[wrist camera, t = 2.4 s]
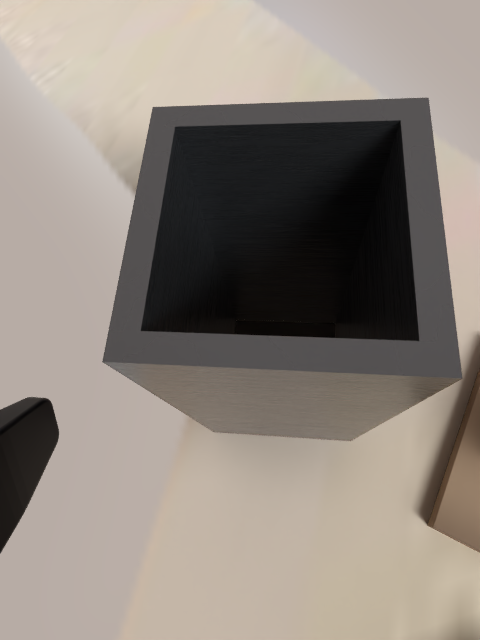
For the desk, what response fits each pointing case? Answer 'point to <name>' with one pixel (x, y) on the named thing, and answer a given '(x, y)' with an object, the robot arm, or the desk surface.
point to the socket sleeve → (288, 266)
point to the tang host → (462, 481)
